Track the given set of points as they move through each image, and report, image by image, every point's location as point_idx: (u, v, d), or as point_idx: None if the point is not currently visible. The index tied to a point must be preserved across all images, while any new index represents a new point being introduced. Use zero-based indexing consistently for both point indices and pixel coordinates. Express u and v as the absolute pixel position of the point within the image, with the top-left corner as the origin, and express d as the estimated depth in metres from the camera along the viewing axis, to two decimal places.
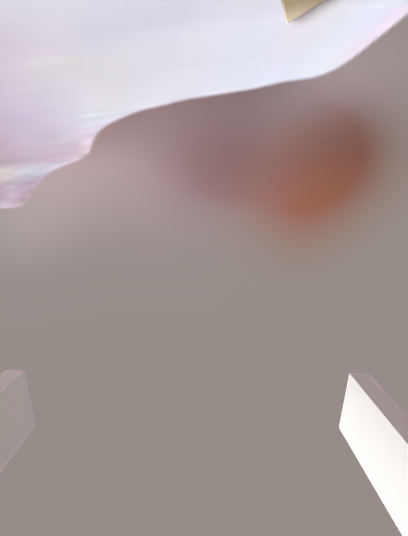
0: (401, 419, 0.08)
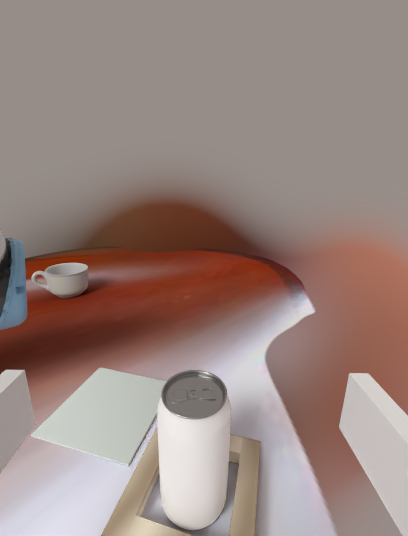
0: (401, 419, 0.08)
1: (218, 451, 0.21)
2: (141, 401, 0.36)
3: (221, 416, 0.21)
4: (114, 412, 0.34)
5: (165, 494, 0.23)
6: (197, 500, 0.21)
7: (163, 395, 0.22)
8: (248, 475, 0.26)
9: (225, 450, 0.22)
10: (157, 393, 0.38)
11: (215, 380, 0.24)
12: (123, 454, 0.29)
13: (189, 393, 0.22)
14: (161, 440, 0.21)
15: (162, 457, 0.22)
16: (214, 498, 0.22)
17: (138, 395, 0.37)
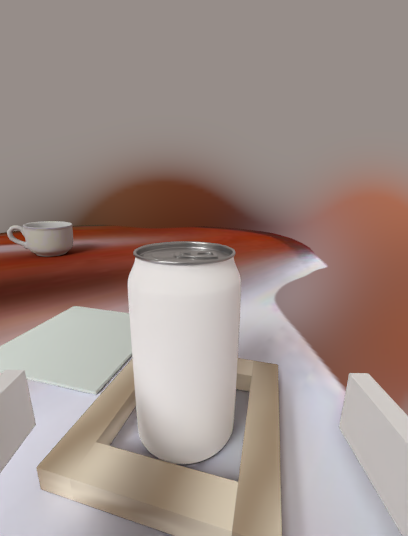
0: (401, 419, 0.08)
1: (223, 329, 0.13)
2: (121, 333, 0.28)
3: (226, 273, 0.13)
4: (85, 342, 0.26)
5: (141, 411, 0.15)
6: (190, 411, 0.14)
7: (137, 253, 0.14)
8: (264, 398, 0.18)
9: (233, 336, 0.14)
10: None
11: (216, 250, 0.16)
12: (90, 381, 0.21)
13: (178, 255, 0.15)
14: (133, 318, 0.14)
15: (135, 348, 0.14)
16: (216, 412, 0.14)
17: (118, 328, 0.29)
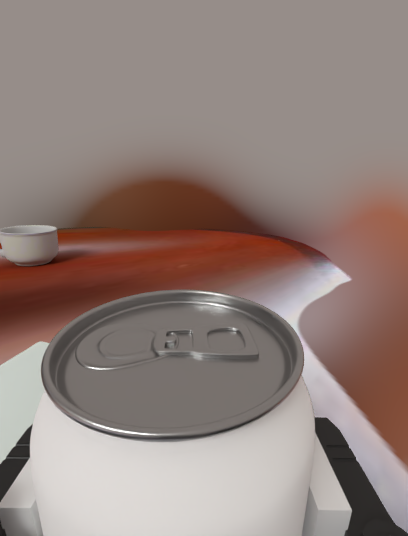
0: None
1: None
2: None
3: (292, 423, 0.05)
4: None
5: None
6: None
7: (62, 344, 0.06)
8: None
9: None
10: None
11: (244, 312, 0.08)
12: None
13: (162, 340, 0.06)
14: None
15: None
16: None
17: None
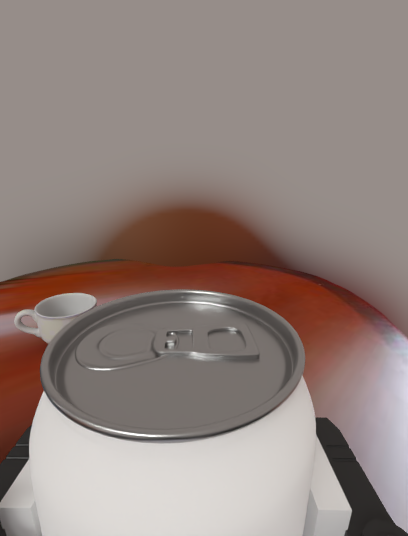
0: None
1: None
2: None
3: (294, 424, 0.05)
4: None
5: None
6: None
7: (61, 344, 0.06)
8: None
9: None
10: None
11: (244, 312, 0.08)
12: None
13: (163, 340, 0.06)
14: None
15: None
16: None
17: None
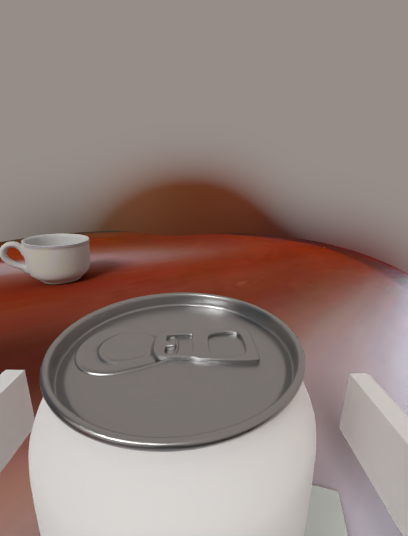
0: (401, 419, 0.08)
1: None
2: None
3: (293, 431, 0.05)
4: None
5: None
6: None
7: (61, 348, 0.06)
8: None
9: None
10: None
11: (244, 315, 0.08)
12: None
13: (162, 344, 0.06)
14: None
15: None
16: None
17: None
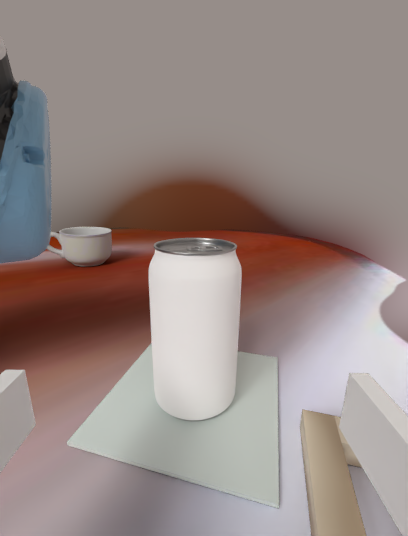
0: (401, 419, 0.08)
1: (227, 308, 0.16)
2: (242, 384, 0.22)
3: (229, 262, 0.16)
4: None
5: (159, 377, 0.18)
6: (200, 375, 0.17)
7: (156, 247, 0.17)
8: None
9: (235, 315, 0.17)
10: (262, 372, 0.23)
11: (220, 245, 0.19)
12: (258, 481, 0.14)
13: (189, 248, 0.18)
14: (153, 299, 0.17)
15: (155, 324, 0.17)
16: (221, 377, 0.17)
17: None
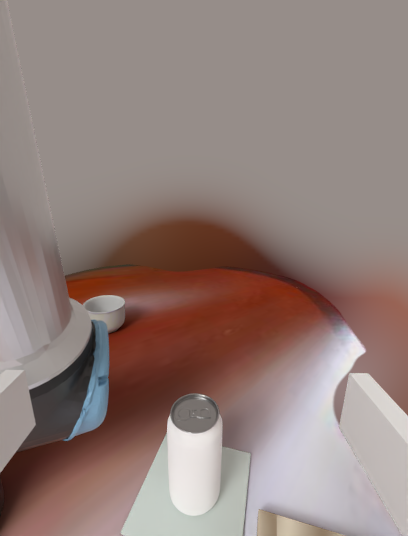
0: (401, 419, 0.08)
1: (213, 456, 0.28)
2: (225, 481, 0.34)
3: (214, 430, 0.28)
4: None
5: (173, 489, 0.30)
6: (197, 493, 0.29)
7: (171, 414, 0.29)
8: None
9: (218, 455, 0.29)
10: (238, 469, 0.35)
11: (210, 401, 0.31)
12: None
13: (191, 412, 0.30)
14: (170, 448, 0.29)
15: (171, 461, 0.29)
16: (210, 491, 0.29)
17: None
